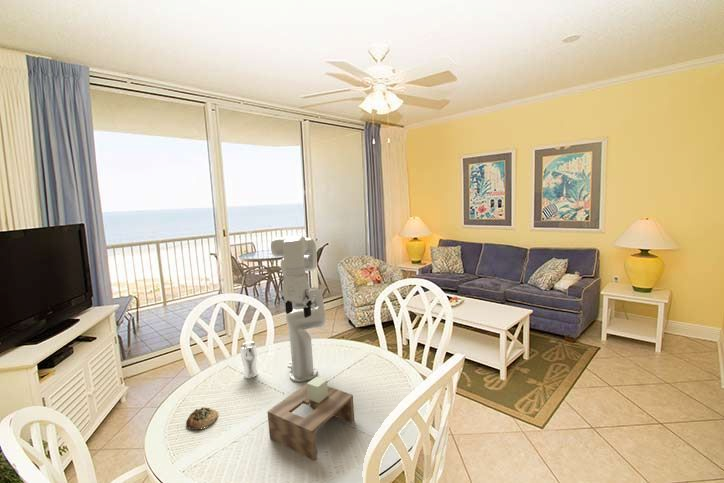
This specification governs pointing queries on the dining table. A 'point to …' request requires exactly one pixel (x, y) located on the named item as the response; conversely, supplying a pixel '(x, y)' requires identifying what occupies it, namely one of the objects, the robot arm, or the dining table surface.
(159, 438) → the dining table surface
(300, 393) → the keyhole shelf
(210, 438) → the dining table surface
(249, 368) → the marbled vase
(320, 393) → the peg
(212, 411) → the bread roll
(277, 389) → the dining table surface
